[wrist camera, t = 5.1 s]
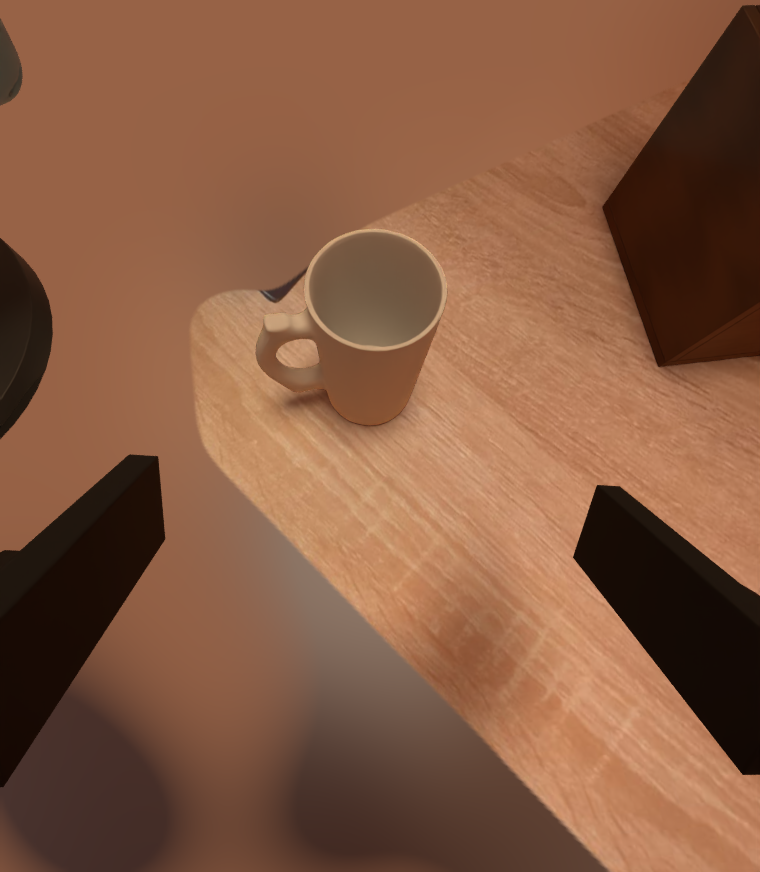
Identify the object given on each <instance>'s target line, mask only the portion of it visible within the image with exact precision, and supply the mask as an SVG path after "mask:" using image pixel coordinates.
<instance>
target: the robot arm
mask: <svg viewBox="0 0 760 872" xmlns="http://www.w3.org/2000/svg"><path fill="white" fill-rule="evenodd" d="M21 84H22V67H21V63H20V59H19V57H18V54H17V52H16V49H15V47H14V45H13V43H12V41H11V39H10V37H9V35H8V33H7V31H6V29H5V27H4V25H3V23H2V21H1V19H0V105H3V104H5V103H7V102H9V101H11V100H12V99H13V98H14V97H15V96H16V95H17V94H18V92H19V90H20V87H21ZM164 540H165V532H164V520H163V508H162V496H161V484H160V474H159V461H158V456H144V455H128V456H127V457H126V458H125V459H124V460H123V461H121V462H120V463H119V464H118V465H117V466H116V467H114V468H113V469H112V470H111V471H110V472H109V473H108V474H106V475H105V476H104V477H103V478H102V479H101V480H100V481H99V482H98V483H96V484H95V485H94V486H93V487H92V488H91V489H89V490H88V491H87V492H86V493H85V494H84V495H83V496H82V497H80V498H79V499H78V500H77V501H76V502H75V503H74V504H73V505H72V506H70V507H69V508H68V509H67V510H66V511H65V512H63V513H62V514H61V515H60V516H59V517H58V518H57V519H56V520H54V521H53V522H52V523H51V524H50V525H49V526H48V527H46V528H45V529H44V530H43V531H42V532H41V533H40V534H38V535H37V536H36V537H35V538H34V539H33V540H32V541H31V542H29V543H28V544H27V545H26V546H25V547H24V548H23V549H21V550H20V551H10V550H4V551H2V552H0V787H4V785H5V784H6V782H7V781H8V779H9V778H10V776H11V774H12V773H13V772H14V770H15V769H16V767H17V765H18V764H19V762H20V761H21V759H22V758H23V756H24V755H25V753H26V752H27V750H28V749H29V747H30V745H31V744H32V742H33V741H34V739H35V738H36V736H37V735H38V733H39V732H40V730H41V729H42V727H43V726H44V724H45V722H46V721H47V719H48V718H49V716H50V715H51V713H52V712H53V710H54V709H55V707H56V706H57V704H58V703H59V701H60V700H61V698H62V696H63V695H64V693H65V692H66V690H67V689H68V687H69V686H70V684H71V682H72V681H73V680H74V678H75V676H76V675H77V674H78V672H79V670H80V669H81V667H82V666H83V664H84V663H85V661H86V660H87V658H88V657H89V655H90V654H91V652H92V650H93V649H94V647H95V646H96V644H97V643H98V641H99V640H100V638H101V637H102V635H103V634H104V632H105V630H106V629H107V627H108V626H109V624H110V623H111V621H112V620H113V618H114V617H115V615H116V614H117V612H118V611H119V609H120V608H121V606H122V605H123V603H124V601H125V600H126V598H127V597H128V595H129V594H130V592H131V591H132V589H133V588H134V586H135V585H136V583H137V581H138V580H139V579H140V577H141V575H142V574H143V572H144V571H145V569H146V568H147V566H148V565H149V563H150V562H151V560H152V558H153V557H154V556H155V554H156V552H157V551H158V549H159V548H160V546H161V545H162V543H163V542H164ZM573 558H574V559H575V561H576V562H577V563H578V564H579V566H580V567H581V568H582V569H583V571H584V572H585V573H586V575H587V576H588V577H589V578H590V580H591V581H592V582H593V584H594V585H595V586H596V587H597V589H598V590H599V591H600V593H601V594H602V595H603V596H604V598H605V599H606V600H607V602H608V603H609V604H610V605H611V607H612V608H613V609H614V611H615V612H616V613H617V614H618V616H619V617H620V618H621V619H622V621H623V622H624V623H625V625H626V626H627V627H628V628H629V630H630V631H631V632H632V634H633V635H634V636H635V637H636V639H637V640H638V641H639V643H640V644H641V645H642V646H643V648H644V649H645V650H646V652H647V653H648V654H649V655H650V657H651V658H652V659H653V660H654V662H655V663H656V664H657V666H658V667H659V668H660V669H661V671H662V672H663V673H664V675H665V676H666V677H667V678H668V680H669V681H670V682H671V684H672V685H673V686H674V687H675V689H676V690H677V691H678V693H679V694H680V695H681V696H682V698H683V699H684V700H685V701H686V703H687V704H688V705H689V707H690V708H691V709H692V710H693V712H694V713H695V714H696V716H697V717H698V718H699V719H700V721H701V722H702V723H703V725H704V726H705V727H706V728H707V730H708V731H709V732H710V734H711V735H712V736H713V737H714V739H715V740H716V741H717V743H718V744H719V745H720V746H721V748H722V749H723V750H724V751H725V753H726V754H727V755H728V757H729V758H730V759H731V760H732V762H733V763H734V764H735V766H736V767H737V768H738V769H739V771H740V772H741V773H742V775H760V596H759V595H758V594H757V593H755V592H753V591H752V590H750V589H748V588H747V587H745V586H743V585H741V584H740V583H739V582H737V581H736V580H735V579H734V578H732V577H731V576H730V575H729V574H728V573H726V572H725V571H724V570H723V569H721V568H720V567H719V566H718V565H716V564H715V563H714V562H713V561H711V560H710V559H709V558H708V557H706V556H705V555H704V554H703V553H702V552H700V551H699V550H698V549H697V548H695V547H694V546H693V545H692V544H690V543H689V542H688V541H687V540H685V539H684V538H683V537H682V536H680V535H679V534H678V533H677V532H675V531H674V530H673V529H672V528H671V527H669V526H668V525H667V524H666V523H664V522H663V521H662V520H661V519H659V518H658V517H657V516H656V515H654V514H653V513H652V512H651V511H649V510H648V509H647V508H646V507H644V506H643V505H642V504H641V503H640V502H638V501H637V500H636V499H635V498H633V497H632V496H631V495H630V494H628V493H627V492H626V491H625V490H623V489H622V488H621V487H620V486H604V485H597V487H596V490H595V493H594V496H593V499H592V502H591V505H590V508H589V511H588V514H587V517H586V520H585V523H584V526H583V529H582V532H581V535H580V538H579V541H578V544H577V547H576V550H575V553H574V556H573Z"/></svg>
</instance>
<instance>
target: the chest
mask: <svg viewBox="0 0 760 872" xmlns="http://www.w3.org/2000/svg"><path fill="white" fill-rule="evenodd" d="M603 210H604V212H605V215H606V218H607V221H608V224H609V227H610V229H611V232H612V235H613V238H614V241H615V244H616V246H617V249H618V252H619V255H620V258H621V261H622V264H623V266H624V269H625V272H626V275H627V278H628V281H629V283H630V286H631V289H632V292H633V295H634V298H635V300H636V303H637V306H638V309H639V312H640V315H641V317H642V320H643V323H644V326H645V329H646V332H647V334H648V337H649V340H650V343H651V346H652V349H653V352H654V354H655V357H656V360H657V363H658V366H659V367H660V366H669V365H678V364H687V363H695V362H704V361H713V360H722V359H730V358H739V357H748V356H757V355H760V5H756V6H755V5H746V6H742V7H741V8H740V10H739V11H738V13H737V14H736V16H735V17H734V18H733V20H732V21H731V23H730V24H729V26H728V27H727V28H726V30H725V31H724V33H723V34H722V36H721V37H720V39H719V40H718V41H717V43H716V44H715V46H714V47H713V49H712V50H711V51H710V53H709V54H708V56H707V57H706V59H705V60H704V62H703V63H702V64H701V66H700V67H699V69H698V70H697V72H696V73H695V75H694V76H693V77H692V79H691V80H690V82H689V83H688V85H687V86H686V87H685V89H684V90H683V92H682V93H681V95H680V96H679V98H678V99H677V100H676V102H675V103H674V105H673V106H672V108H671V109H670V110H669V112H668V113H667V115H666V116H665V118H664V119H663V121H662V122H661V123H660V125H659V126H658V128H657V129H656V131H655V132H654V133H653V135H652V136H651V138H650V139H649V141H648V142H647V144H646V145H645V146H644V148H643V149H642V151H641V152H640V154H639V155H638V156H637V158H636V159H635V161H634V162H633V164H632V165H631V167H630V168H629V169H628V171H627V172H626V174H625V175H624V177H623V178H622V180H621V181H620V182H619V184H618V185H617V187H616V188H615V190H614V191H613V192H612V194H611V195H610V197H609V198H608V200H607V201H606V202H605V204H604V205H603Z"/></svg>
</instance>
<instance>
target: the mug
mask: <svg viewBox="0 0 760 872" xmlns="http://www.w3.org/2000/svg"><path fill="white" fill-rule="evenodd" d="M304 297H305V302H306V305H307V308H306V309H305V310H304V311H303V312H301V313H298V314H295V315H289V314H287V313H275V314H266V315H265V316H264V317H263V328H262V330H261V333H260V335H259V338H258V341H257V344H256V358H257V362H258V364H259V366H260V367H261V369H262V370H263V371H264V372H265V373H266V374H267V375H268V376H269V377H271V378H272V379H274V380H275V381H277V382H278V383H280V384H282V385H283V386H285V387H287V388H288V389H290V390H292V391H293V392H304V391H308V390H313V389H325V390H327V394H328V397H329V400H330V402H331V404H332V405H333V407H334V408H335V410H336V411H337V412H338V413H339V414H340V415H341V416H343V417H344V418H346V419H347V420H349V421H351V422H354V423H357V424H361V425H378V424H382V423H385V422H387V421H390V420H391V419H393V418H394V417H396V416H397V415H398V414H399V413H400V412H401V411H402V410H403V409H404V407H405V406H406V404H407V402H408V400H409V398H410V396H411V393H412V391H413V389H414V386H415V383H416V381H417V378H418V375H419V373H420V370H421V368H422V365H423V363H424V360H425V358H426V355H427V353H428V350H429V347H430V345H431V342H432V340H433V337H434V335H435V332H436V329H437V327H438V324H439V321H440V318H441V315H442V313H443V311H444V308H445V304H446V299H447V283H446V278H445V275H444V272H443V270H442V268H441V266H440V264H439V262H438V261H437V260H436V258H435V257H434V256H433V255H432V253H431V252H430V251H429V250H428V249H426V248H425V247H424V246H423V245H422V244H420V243H419V242H417V241H416V240H414V239H412V238H410V237H408V236H406V235H403V234H401V233H398V232H394V231H390V230H384V229H363V230H357V231H353V232H350V233H347V234H344V235H341V236H339V237H337V238H335V239H334V240H332V241H330V242H329V243H328V244H326V245H325V246H324V247H323V248H322V249H321V250H320V251H319V252H318V253H317V254H316V255H315V257H314V258H313V260H312V261H311V263H310V265H309V267H308V269H307V272H306V276H305V281H304ZM297 339H310V340H313V341H314V342H315V343H316V345H317V349H318V354H319V358H320V362H319V363H318V364H317V365H315V366H312V367H308V368H292V367H288V366H285V365H283V364H282V363H281V362H279V361H278V359H277V358H276V352H277V350H278V349H279V348H280V347H281V346H282V345H283V344H285V343H287V342H289V341H293V340H297Z"/></svg>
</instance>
